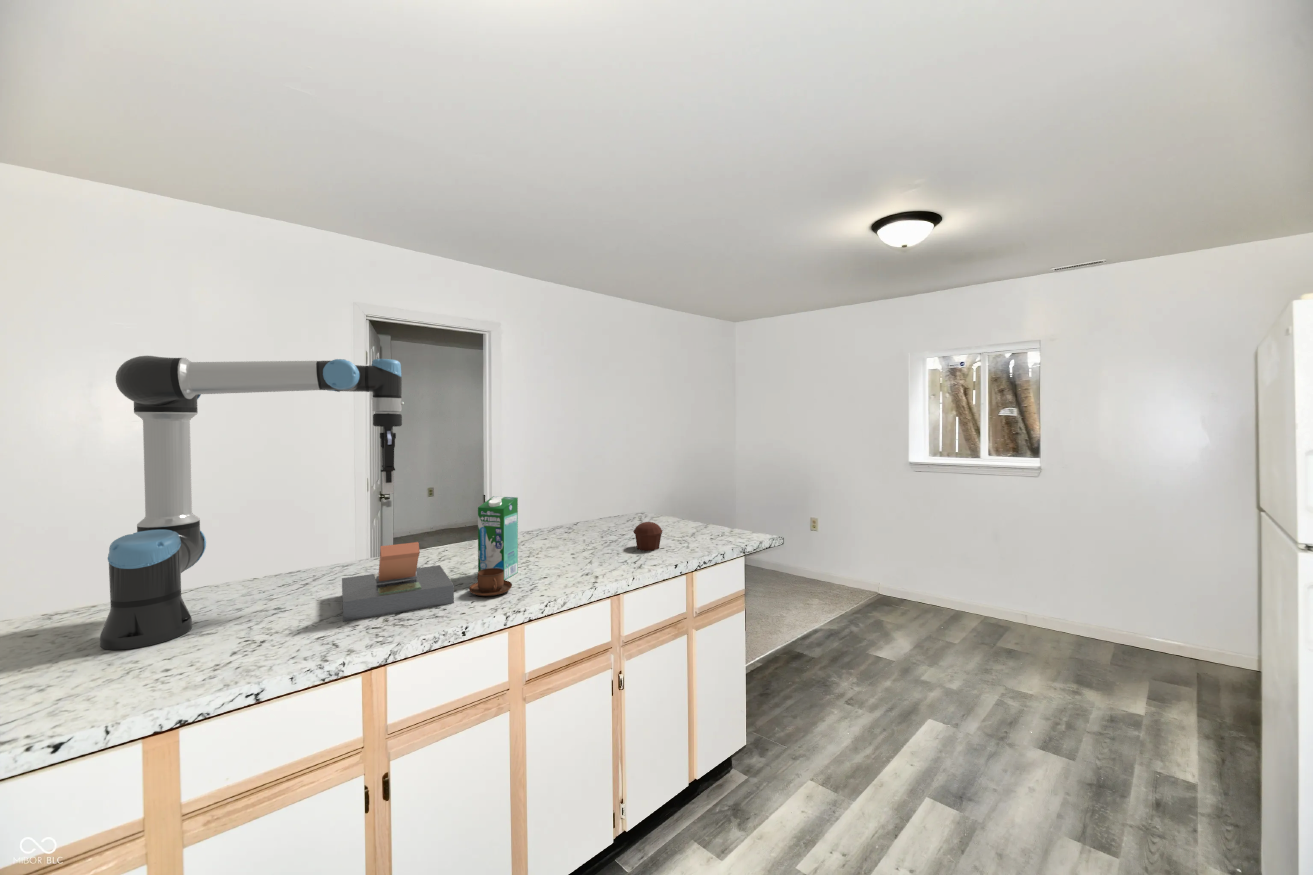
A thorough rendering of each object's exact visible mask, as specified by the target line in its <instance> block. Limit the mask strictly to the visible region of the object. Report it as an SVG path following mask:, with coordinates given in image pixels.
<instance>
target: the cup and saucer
mask: <svg viewBox="0 0 1313 875" xmlns="http://www.w3.org/2000/svg"><path fill="white" fill-rule="evenodd" d="M512 586H513V583H512V582H511V581H509V580H507V579H506V580H504V570H503V569H500V568H488V569H483V570H480V571H477V582H474V583H472V584H471V585H469V587H468V590H469V592H470V593H471V594H472V595H475V596H480V597H494V596H498V595H502V594H505V593H507V592H508V591H510V590H511V588H512Z"/></svg>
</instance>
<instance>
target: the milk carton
mask: <svg viewBox="0 0 1313 875" xmlns="http://www.w3.org/2000/svg"><path fill="white" fill-rule="evenodd" d="M518 500H519V497H518V496H516V497H515V496H514V497H513V496H494V495H493V496H491V497H490V498H488V499H487V500H486V501H485V502H483V503H482V504H480V505H479V506H478V507H477V570H478V571H480V570H483V569H488V568H500V569H503V570H504V580H506V581H507V580H508V579H509V578H511V577H512V576H515V575H516V574H518V571H519V557H518V556H519V551H518V550H519V549H518V548H519V544H518V543H519V538H518V536H519V535H518V534H519V520H518V519H519V518H518V516H519V515H518V514H519V513H518V512H519V510H518V509H519V508H518V507H519V506H518V505H519V504H518V503H519V502H518ZM478 571H477V572H478Z"/></svg>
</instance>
